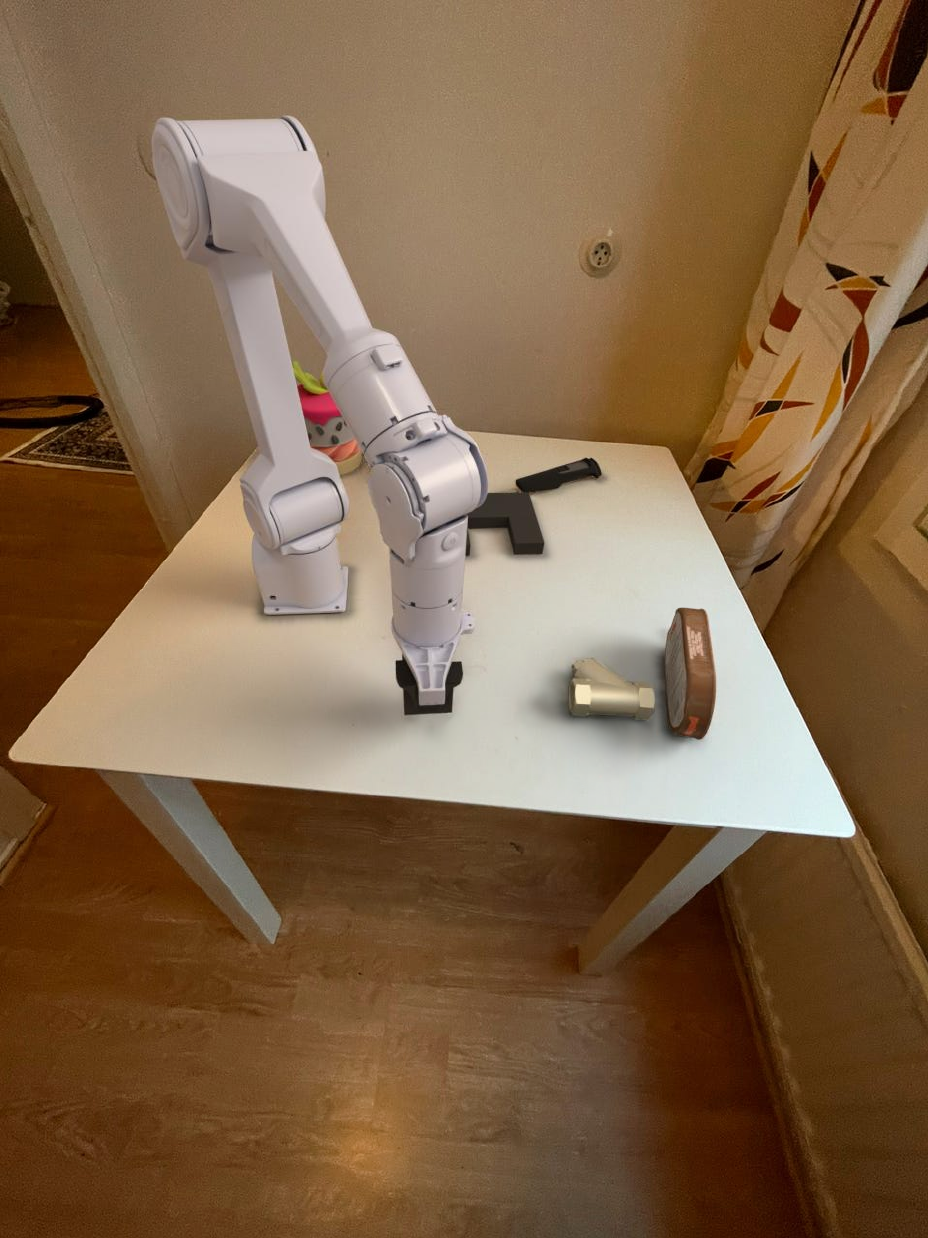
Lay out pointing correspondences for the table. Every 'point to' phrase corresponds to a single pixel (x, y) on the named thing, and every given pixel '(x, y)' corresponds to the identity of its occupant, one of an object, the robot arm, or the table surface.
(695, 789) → the table surface
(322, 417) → the cake
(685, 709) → the tin
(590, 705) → the pipe fitting
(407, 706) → the pad
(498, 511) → the pad base
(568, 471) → the electric trimmer
